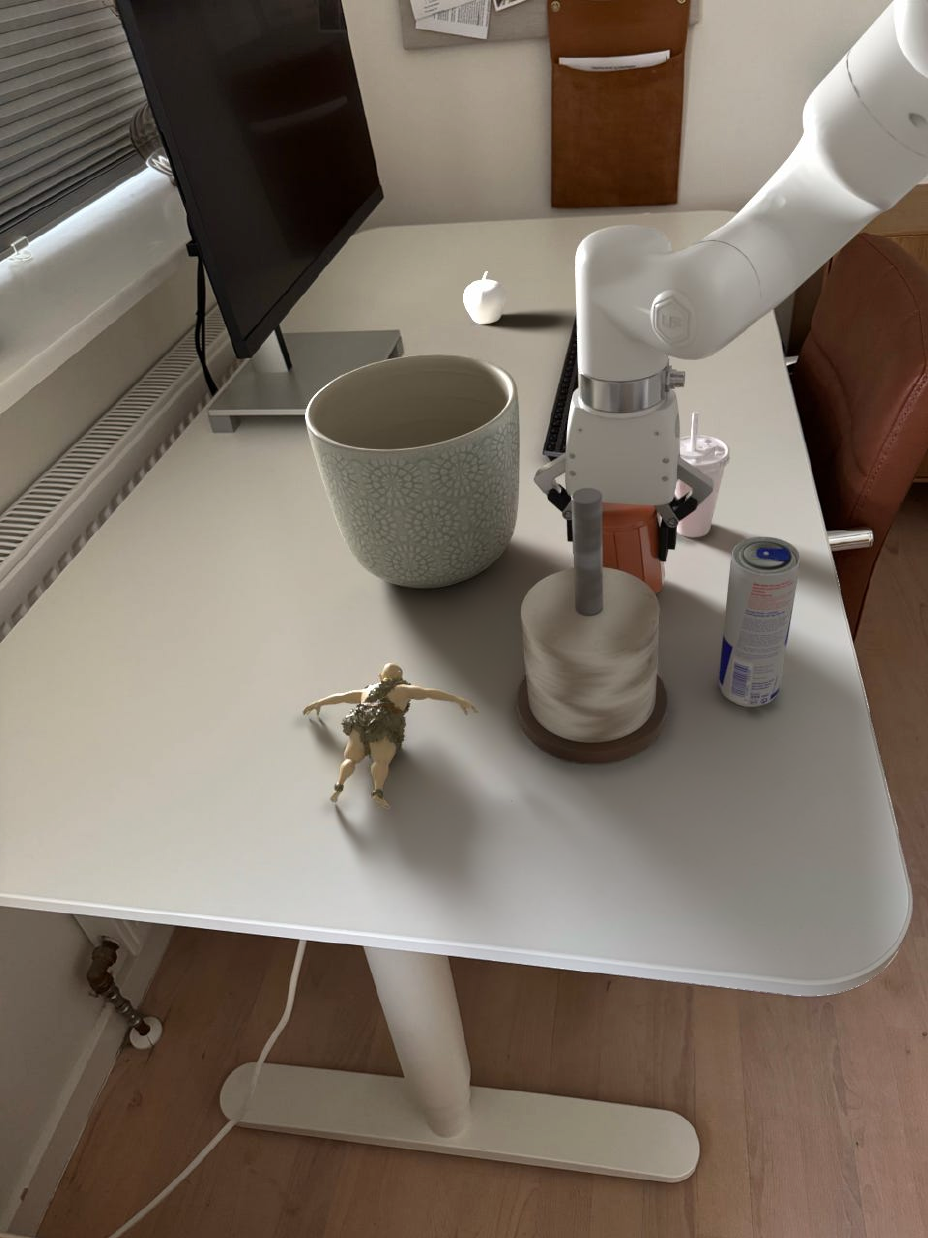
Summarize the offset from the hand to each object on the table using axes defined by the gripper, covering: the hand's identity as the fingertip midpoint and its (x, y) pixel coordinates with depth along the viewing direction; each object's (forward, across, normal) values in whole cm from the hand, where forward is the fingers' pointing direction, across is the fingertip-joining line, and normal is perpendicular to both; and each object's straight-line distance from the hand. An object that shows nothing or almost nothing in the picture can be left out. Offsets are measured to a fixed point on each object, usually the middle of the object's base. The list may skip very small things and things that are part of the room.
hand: (621, 549), depth 88 cm
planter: (+5, +21, -3) cm, 22 cm away
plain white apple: (+5, +33, -69) cm, 77 cm away
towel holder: (+5, 0, +17) cm, 18 cm away
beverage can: (+5, -13, +13) cm, 19 cm away
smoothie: (+5, -6, -12) cm, 14 cm away
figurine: (+5, +17, +25) cm, 31 cm away
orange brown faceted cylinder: (+4, -1, 0) cm, 4 cm away
